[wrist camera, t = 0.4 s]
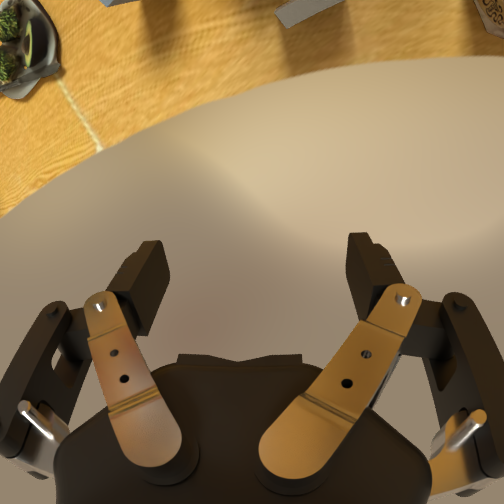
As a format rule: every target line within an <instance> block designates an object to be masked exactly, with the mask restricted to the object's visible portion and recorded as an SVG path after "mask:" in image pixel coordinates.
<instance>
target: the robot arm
mask: <svg viewBox="0 0 504 504" xmlns="http://www.w3.org/2000/svg"><path fill="white" fill-rule="evenodd" d="M346 278H347V281H348V284H349V288H350V291H351V294H352V298H353V301H354V304H355V308H356V312H357V315H358V319H359V323H358V324H357V325H356V326H355V328H354V329H353V331H352V332H351V333H350V335H349V336H348V338H347V339H346V340H345V342H344V343H343V345H342V346H341V347H340V349H339V350H338V351H337V353H336V354H335V355H334V357H333V358H332V359H331V361H330V362H329V363H328V364H327V366H326V367H325V368H324V370H323V369H321V368H319V367H316V366H313V365H310V364H305V363H302V354H295V355H293V354H292V355H269V356H265V357H260V358H256V359H251V360H246V361H240V362H236V361H231V360H226V359H222V358H218V357H214V356H210V355H196V354H179V355H178V359H177V362H176V363H172V364H168V365H165V366H162V367H160V368H158V369H156V370H154V371H152V372H151V371H150V370H149V368H148V366H147V364H146V362H145V360H144V358H143V356H142V354H141V351H140V349H139V347H138V345H137V343H136V341H135V340H136V337H137V336H148V334H149V331H150V328H151V326H152V324H153V321H154V318H155V316H156V313H157V311H158V308H159V306H160V304H161V301H162V299H163V296H164V294H165V292H166V289H167V287H168V284H169V281H170V271H169V267H168V263H167V260H166V255H165V252H164V248H163V244H162V242H161V241H160V240H155V241H144V242H143V243H142V244H141V246H140V247H139V249H138V250H137V252H134V253H132V254H131V255H130V256H129V257H128V258H126V259H125V261H124V262H123V264H122V265H121V268H119V270H118V272H117V274H116V275H115V276H114V278H113V279H112V281H111V282H110V284H109V286H108V287H107V289H106V290H105V291H102V292H99V293H96V294H94V295H92V296H91V297H90V298H88V299H87V300H86V302H85V304H84V307H83V308H78V309H73V310H69V309H68V307H67V305H66V303H65V302H63V301H55V302H52V303H50V304H48V305H47V306H46V307H44V308H43V309H42V311H41V312H40V314H39V315H38V317H37V318H36V320H35V322H34V324H33V325H32V327H31V328H30V330H29V332H28V333H27V335H26V337H25V338H24V340H23V342H22V343H21V345H20V347H19V349H18V351H17V352H16V354H15V356H14V358H13V359H12V361H11V363H10V365H9V367H8V369H7V371H6V373H5V374H4V376H3V379H2V380H1V383H0V455H1V456H2V457H4V458H5V459H6V460H8V461H9V462H11V463H12V464H14V465H15V466H17V467H18V468H20V469H21V470H23V471H26V472H28V473H29V474H31V475H32V476H34V477H35V478H37V479H42V480H43V479H47V478H49V477H50V478H53V479H55V483H56V504H426V503H427V501H430V500H434V499H438V498H441V497H444V496H448V495H451V494H456V495H458V496H460V497H468V496H471V495H473V494H475V493H477V492H478V491H480V490H482V489H484V488H486V487H487V486H489V485H491V484H492V483H494V482H496V481H497V480H499V479H500V478H502V477H504V361H503V359H502V356H501V354H500V352H499V350H498V348H497V346H496V344H495V341H494V339H493V337H492V336H491V334H490V331H489V329H488V327H487V325H486V324H485V322H484V320H483V318H482V316H481V314H480V312H479V311H478V309H477V307H476V305H475V303H474V302H473V301H472V299H470V298H469V297H468V296H466V295H464V294H462V293H458V292H451V293H448V294H446V295H445V296H444V298H443V301H442V303H441V302H434V301H427V300H423V299H422V296H421V294H420V293H419V291H418V290H417V289H415V288H414V287H412V286H410V285H407V284H405V282H404V280H403V278H402V276H401V274H400V272H399V271H398V269H397V267H396V265H395V263H394V261H393V259H391V256H390V254H389V252H388V250H387V249H385V248H384V247H383V246H382V245H380V244H373V242H372V240H371V239H370V237H369V235H368V233H367V232H362V233H350V234H349V237H348V247H347V257H346ZM57 348H58V349H59V351H60V352H61V356H60V358H59V360H58V362H57V365H56V367H55V369H54V370H53V368H52V365H51V360H52V357H53V355H54V353H55V351H56V349H57ZM402 355H409V356H416V357H422V360H423V363H424V367H425V370H426V374H427V377H428V380H429V384H430V388H431V392H432V396H433V400H434V404H435V408H436V412H437V416H438V421H439V425H440V430H439V431H438V432H437V433H436V435H435V436H434V438H433V440H432V443H431V456H430V459H429V461H428V460H427V458H426V457H425V455H424V454H423V453H422V452H421V451H420V450H419V449H418V448H417V447H416V446H415V445H413V444H412V443H411V442H410V441H409V440H407V439H406V438H405V437H404V436H403V435H401V434H400V433H399V432H398V431H397V430H396V429H394V428H393V427H392V426H391V425H390V424H389V423H387V422H386V421H385V420H384V419H383V418H381V417H380V416H379V415H378V414H377V413H376V412H374V411H373V408H374V407H375V405H376V403H377V401H378V399H379V398H380V396H381V393H382V392H383V390H384V388H385V386H386V384H387V383H388V380H389V379H390V377H391V375H392V373H393V371H394V369H395V368H396V366H397V364H398V362H399V360H400V358H401V356H402ZM92 359H93V362H94V366H95V369H96V372H97V375H98V379H99V382H100V385H101V388H102V391H103V394H104V397H105V400H106V403H107V406H106V407H105V408H104V409H102V410H101V411H100V412H98V413H97V414H96V415H94V416H93V417H92V418H90V419H89V420H88V421H86V422H85V423H84V424H82V425H81V426H80V427H78V428H77V429H76V430H74V431H73V432H72V433H70V431H69V428H68V424H69V421H70V418H71V415H72V412H73V410H74V407H75V404H76V401H77V398H78V395H79V393H80V390H81V387H82V384H83V382H84V380H85V377H86V374H87V372H88V369H89V367H90V364H91V362H92Z"/></svg>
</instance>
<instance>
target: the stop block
mask: <svg viewBox="0 0 504 504" xmlns="http://www.w3.org/2000/svg"><path fill="white" fill-rule="evenodd" d="M342 1H344V0H290V1H288V2H287V3H285V4H283V5H281V6H279V7H278V8H276V9H275V11H274V14H275V15H276V16H277V17H278V18H279V20H280V21H281V22H282V24H283V25H284V26H285V27H286V29H288V28H290V27H292V26H293V25H295V24H297V23H299V22H301V21H303V20H305V19H307V18H308V17H310V16H312V15H314V14H316V13H318V12H320V11H322V10H325V9H327V8H329V7H331V6H333V5H335V4H337V3H340V2H342Z"/></svg>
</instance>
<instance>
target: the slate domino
mask: <svg viewBox="0 0 504 504" xmlns="http://www.w3.org/2000/svg"><path fill="white" fill-rule="evenodd" d="M99 1H101V2H102V3H103V4H104V5H105V6H106V7H111V6H115V5H119V4H124V3H128V2H133V1H138V0H99Z"/></svg>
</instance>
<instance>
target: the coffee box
mask: <svg viewBox="0 0 504 504" xmlns="http://www.w3.org/2000/svg"><path fill="white" fill-rule="evenodd" d="M474 2H475V5H476V7H477V9H478V11H479V14H480V16H481V18H482V21H483V23H484V26H485V28H486V31H487V32H488V33H490V34H493V35H495V36H498V37H500V38H502V39H504V0H474Z"/></svg>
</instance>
